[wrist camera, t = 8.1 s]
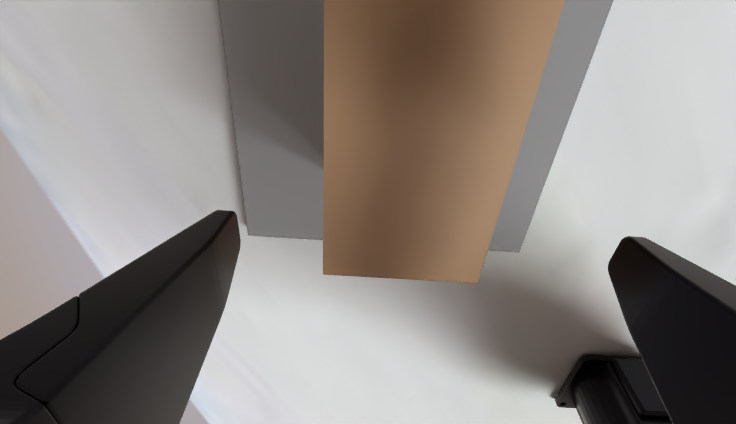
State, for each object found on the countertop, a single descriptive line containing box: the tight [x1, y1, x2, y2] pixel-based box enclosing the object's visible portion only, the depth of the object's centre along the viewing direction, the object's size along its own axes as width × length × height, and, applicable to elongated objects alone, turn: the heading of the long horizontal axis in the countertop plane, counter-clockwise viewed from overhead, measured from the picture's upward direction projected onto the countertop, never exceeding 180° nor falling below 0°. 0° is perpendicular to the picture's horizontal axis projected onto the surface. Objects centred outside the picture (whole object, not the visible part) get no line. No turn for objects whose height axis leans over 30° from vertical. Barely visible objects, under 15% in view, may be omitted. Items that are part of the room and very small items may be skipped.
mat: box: [218, 0, 613, 252], centre depth 19 cm, size 18×16×1 cm
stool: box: [323, 0, 565, 283], centre depth 15 cm, size 6×10×7 cm, turn 176°
